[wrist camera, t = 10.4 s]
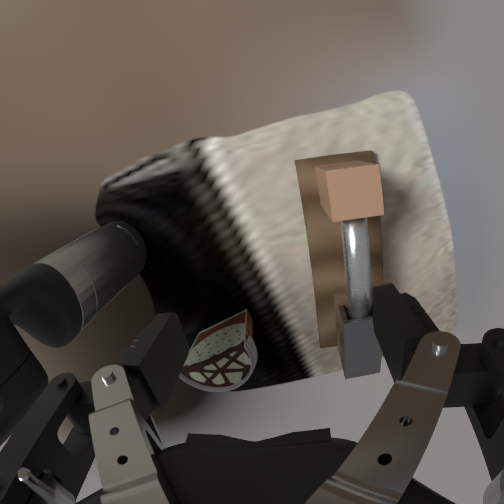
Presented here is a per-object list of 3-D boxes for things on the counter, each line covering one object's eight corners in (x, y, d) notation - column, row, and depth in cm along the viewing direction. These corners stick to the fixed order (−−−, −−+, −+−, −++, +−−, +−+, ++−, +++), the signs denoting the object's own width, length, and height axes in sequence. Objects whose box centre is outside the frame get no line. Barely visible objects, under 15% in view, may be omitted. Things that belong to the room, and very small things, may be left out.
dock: (379, 333, 43) (389, 354, 38) (319, 343, 45) (323, 366, 39) (369, 150, 34) (383, 151, 29) (294, 160, 36) (296, 162, 30)
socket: (361, 199, 35) (384, 214, 27) (320, 205, 36) (332, 222, 28) (356, 160, 34) (379, 164, 25) (314, 166, 35) (325, 171, 26)
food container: (214, 361, 48) (201, 403, 38) (192, 335, 46) (173, 376, 37) (276, 333, 45) (274, 377, 35) (255, 304, 43) (248, 345, 34)
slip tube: (368, 318, 36) (373, 331, 33) (346, 322, 36) (350, 336, 33) (360, 186, 30) (367, 190, 27) (334, 190, 31) (339, 194, 28)
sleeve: (373, 353, 38) (380, 372, 34) (340, 359, 38) (345, 378, 35) (374, 299, 35) (383, 316, 31) (338, 305, 36) (343, 323, 32)
